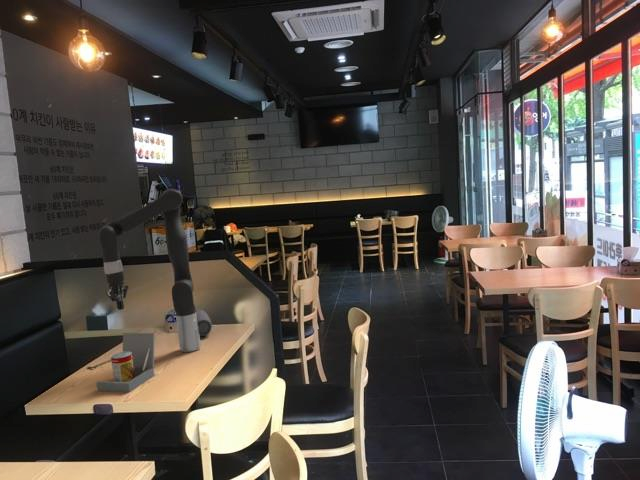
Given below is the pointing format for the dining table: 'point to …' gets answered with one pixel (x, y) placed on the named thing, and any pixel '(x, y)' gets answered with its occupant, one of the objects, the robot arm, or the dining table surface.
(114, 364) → the canned food
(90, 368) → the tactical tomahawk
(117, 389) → the case
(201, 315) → the bluetooth speaker
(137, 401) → the dining table surface
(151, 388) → the dining table surface
